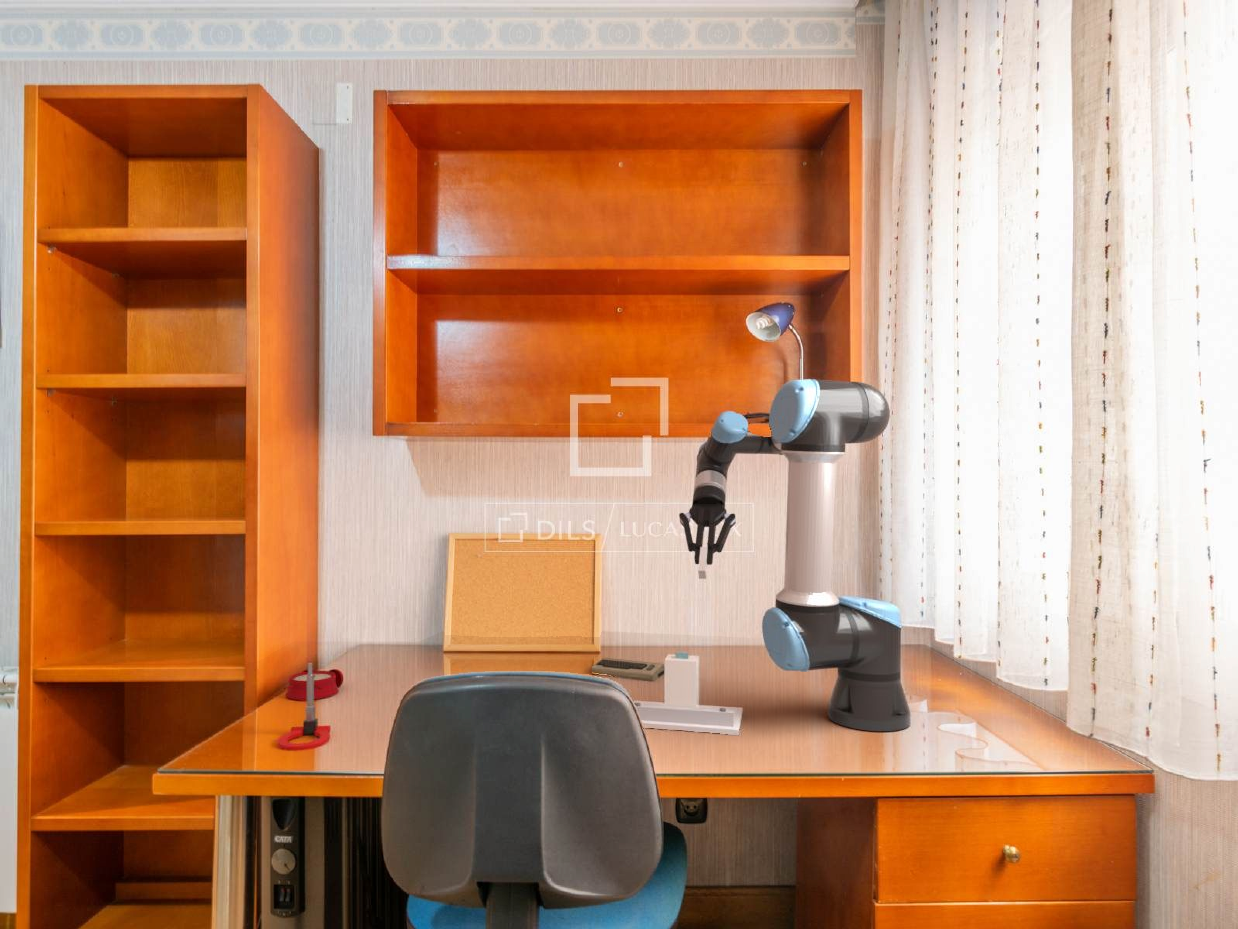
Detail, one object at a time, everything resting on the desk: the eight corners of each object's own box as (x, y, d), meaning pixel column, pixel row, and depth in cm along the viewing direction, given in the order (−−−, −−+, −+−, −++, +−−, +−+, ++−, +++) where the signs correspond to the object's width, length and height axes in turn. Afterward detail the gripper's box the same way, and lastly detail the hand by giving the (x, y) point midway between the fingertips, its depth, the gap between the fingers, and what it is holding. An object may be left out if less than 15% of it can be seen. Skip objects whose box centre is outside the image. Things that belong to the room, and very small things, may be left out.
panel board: (742, 712, 155) (742, 693, 155) (738, 735, 141) (738, 714, 141) (633, 705, 159) (633, 686, 160) (619, 726, 146) (619, 706, 146)
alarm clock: (275, 685, 160) (302, 653, 175) (278, 713, 161) (304, 679, 176) (327, 685, 161) (349, 653, 175) (329, 713, 162) (351, 679, 177)
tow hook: (322, 752, 133) (336, 732, 142) (322, 677, 132) (335, 661, 142) (271, 754, 132) (287, 734, 141) (270, 678, 131) (287, 662, 141)
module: (699, 713, 151) (699, 650, 152) (696, 720, 146) (696, 656, 147) (668, 711, 153) (668, 649, 153) (664, 718, 148) (664, 654, 148)
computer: (590, 676, 185) (590, 662, 185) (604, 669, 192) (604, 655, 192) (652, 684, 178) (652, 669, 178) (665, 676, 186) (665, 662, 186)
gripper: (738, 506, 184) (733, 586, 167) (683, 505, 187) (673, 584, 170) (737, 483, 179) (732, 564, 162) (680, 483, 182) (669, 562, 165)
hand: (702, 574), depth 166 cm, fingers closed
